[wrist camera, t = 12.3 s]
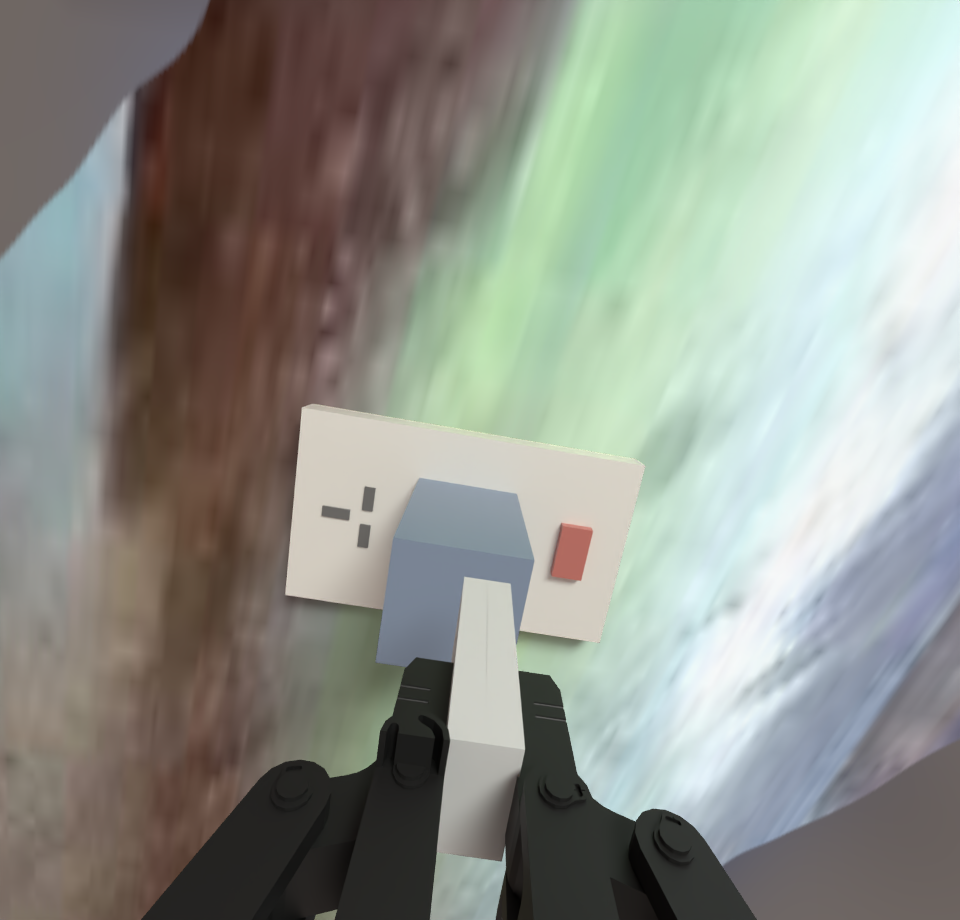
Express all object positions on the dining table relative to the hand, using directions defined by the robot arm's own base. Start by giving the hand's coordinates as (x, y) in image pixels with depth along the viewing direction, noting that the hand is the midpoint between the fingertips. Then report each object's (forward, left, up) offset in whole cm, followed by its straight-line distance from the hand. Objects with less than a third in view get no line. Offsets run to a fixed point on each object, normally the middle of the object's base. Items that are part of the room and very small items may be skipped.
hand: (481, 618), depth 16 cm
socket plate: (+1, +4, -18) cm, 19 cm away
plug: (+1, +4, -18) cm, 18 cm away
